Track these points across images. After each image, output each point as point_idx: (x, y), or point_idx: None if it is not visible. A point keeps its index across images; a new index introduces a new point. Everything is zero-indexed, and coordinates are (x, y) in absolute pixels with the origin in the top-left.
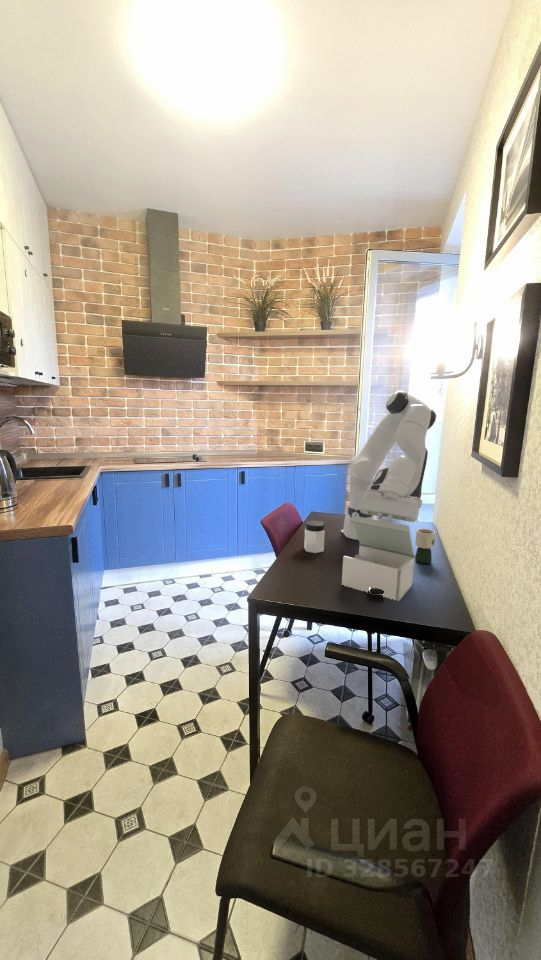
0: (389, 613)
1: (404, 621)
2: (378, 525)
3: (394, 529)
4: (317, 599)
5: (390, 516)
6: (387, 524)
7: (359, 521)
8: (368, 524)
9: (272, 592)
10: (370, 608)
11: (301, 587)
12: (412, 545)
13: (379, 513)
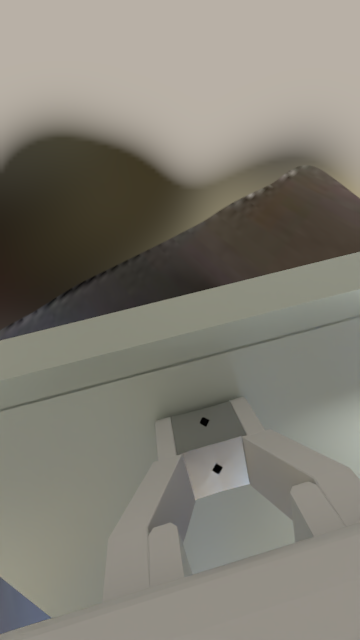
0: (81, 316)
1: (38, 312)
2: (166, 303)
3: (9, 343)
4: (236, 243)
5: (132, 559)
6: (82, 338)
7: (357, 258)
8: (258, 279)
9: (320, 195)
10: (126, 301)
11: (310, 254)
12: (12, 585)
13: (354, 517)
